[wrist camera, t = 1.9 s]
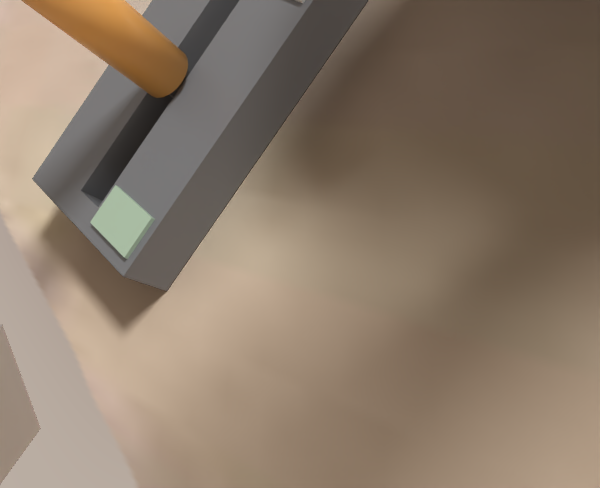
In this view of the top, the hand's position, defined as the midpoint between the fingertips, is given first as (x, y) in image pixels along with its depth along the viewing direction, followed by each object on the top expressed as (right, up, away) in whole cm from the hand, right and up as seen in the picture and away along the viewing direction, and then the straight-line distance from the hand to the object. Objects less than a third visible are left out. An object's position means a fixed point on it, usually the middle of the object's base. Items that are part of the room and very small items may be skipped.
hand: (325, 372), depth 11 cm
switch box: (-7, +13, +31) cm, 34 cm away
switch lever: (-8, +13, +30) cm, 33 cm away
